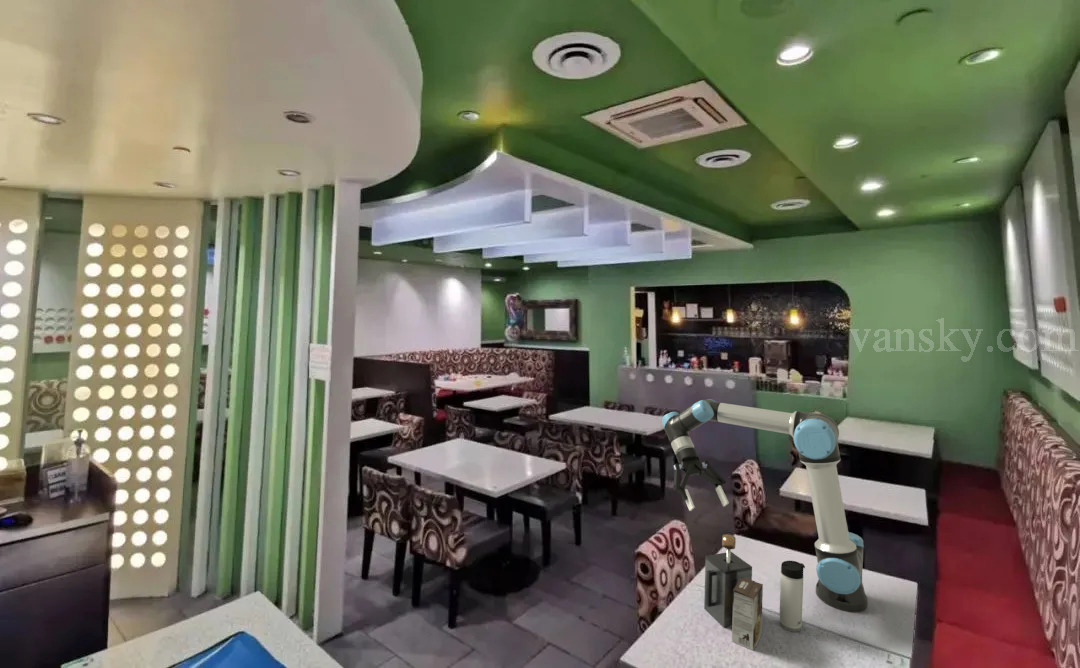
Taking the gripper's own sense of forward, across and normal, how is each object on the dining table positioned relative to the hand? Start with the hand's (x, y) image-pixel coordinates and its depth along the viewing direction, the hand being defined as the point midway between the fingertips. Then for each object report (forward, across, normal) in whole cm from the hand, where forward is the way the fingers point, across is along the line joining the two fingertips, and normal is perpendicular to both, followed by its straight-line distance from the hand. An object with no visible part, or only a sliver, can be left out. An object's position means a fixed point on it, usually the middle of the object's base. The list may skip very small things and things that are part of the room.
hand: (709, 507), depth 165 cm
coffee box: (+38, +2, -7) cm, 38 cm away
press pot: (+30, +1, -15) cm, 33 cm away
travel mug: (+37, -16, -8) cm, 41 cm away
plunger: (+28, 0, -13) cm, 31 cm away
